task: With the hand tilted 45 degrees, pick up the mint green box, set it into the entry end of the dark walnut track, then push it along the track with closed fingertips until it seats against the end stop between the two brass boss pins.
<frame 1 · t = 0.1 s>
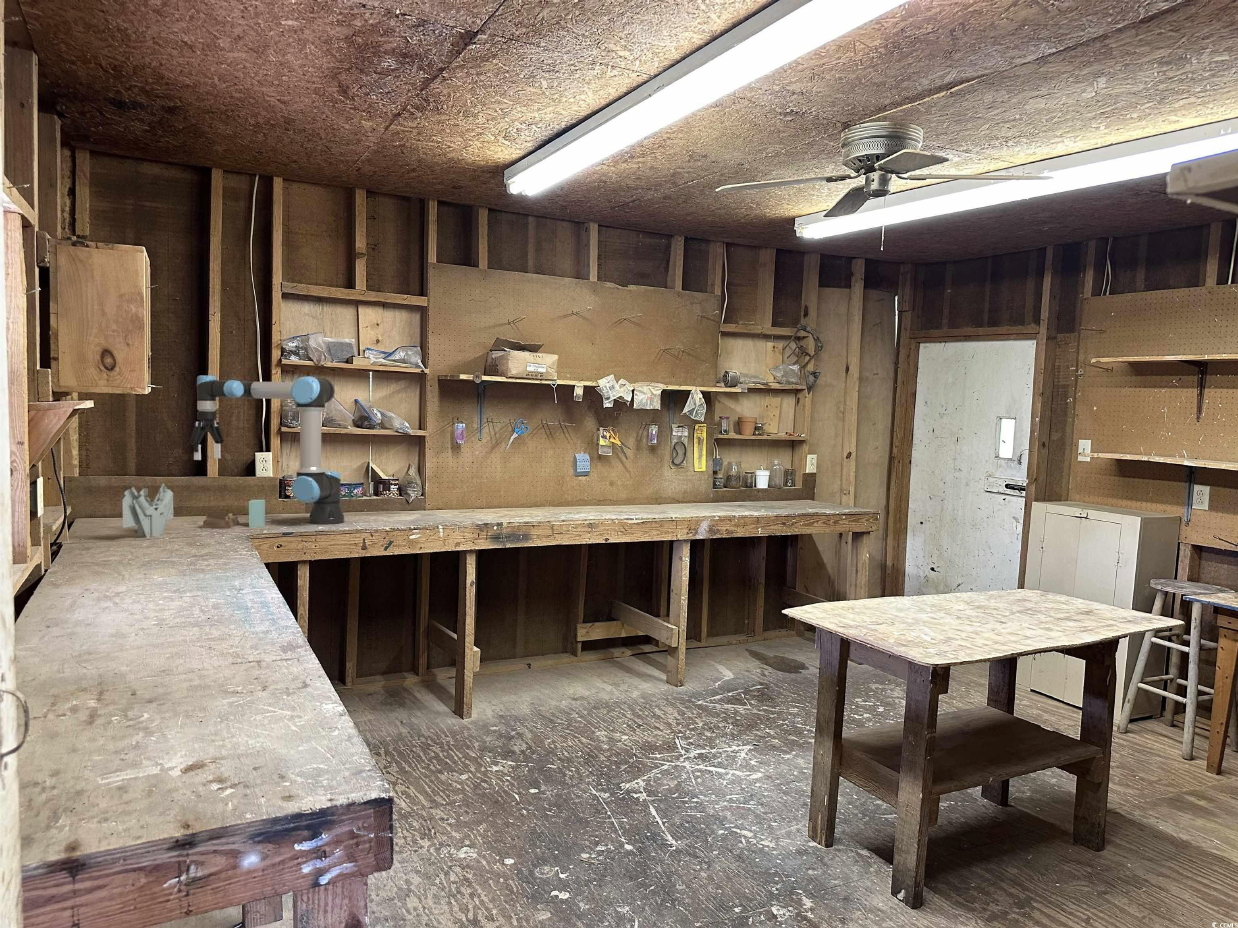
hand: (207, 459, 361), 28 cm above the workbench, tool pointing down, fingers open, 13 cm apart
mint green box: (257, 525, 353), on the workbench
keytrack: (220, 525, 351), on the workbench
bracket: (149, 536, 321), on the workbench
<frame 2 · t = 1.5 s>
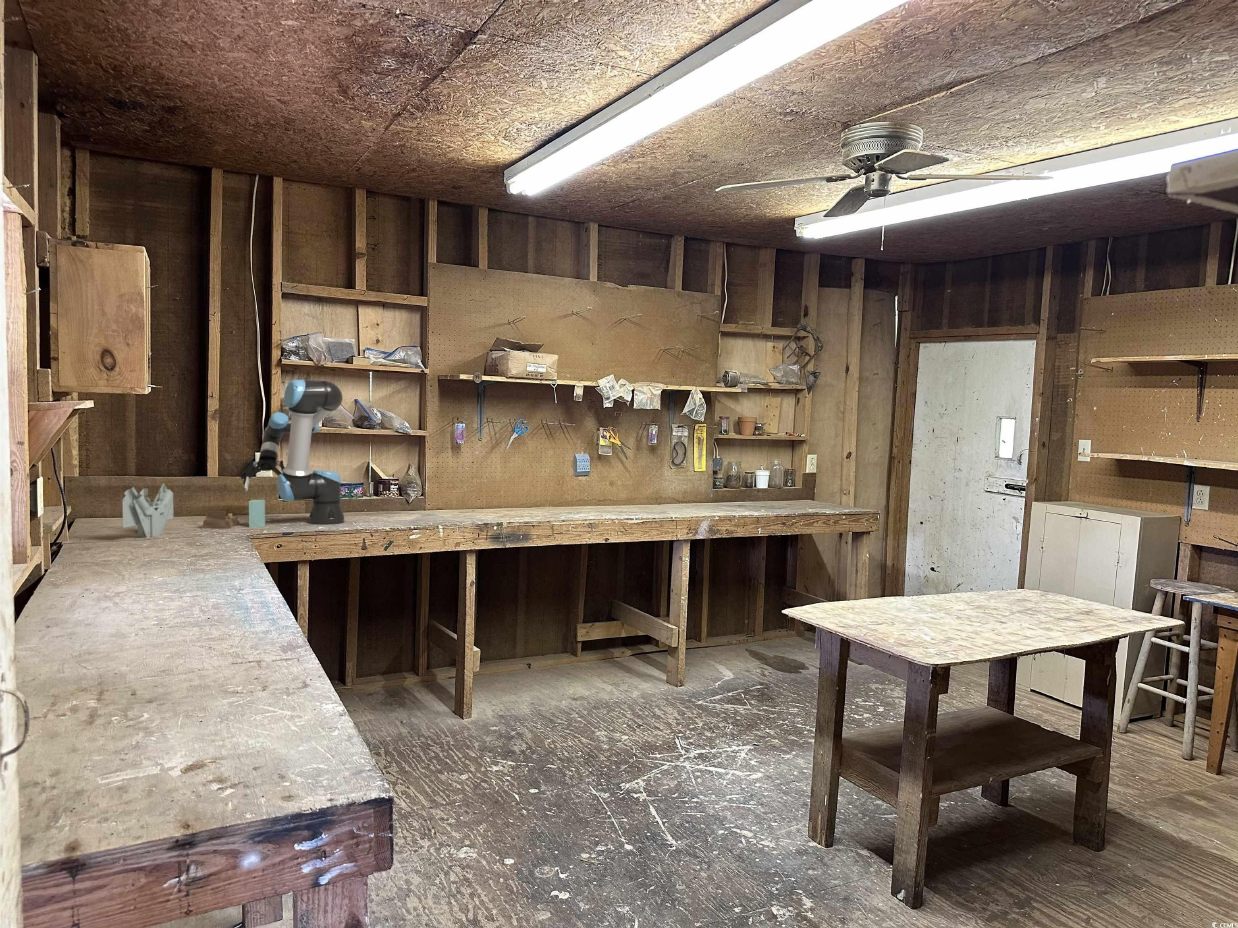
hand: (262, 489, 363), 15 cm above the workbench, tool tilted 45°, fingers open, 13 cm apart
nothing on the workbench moved.
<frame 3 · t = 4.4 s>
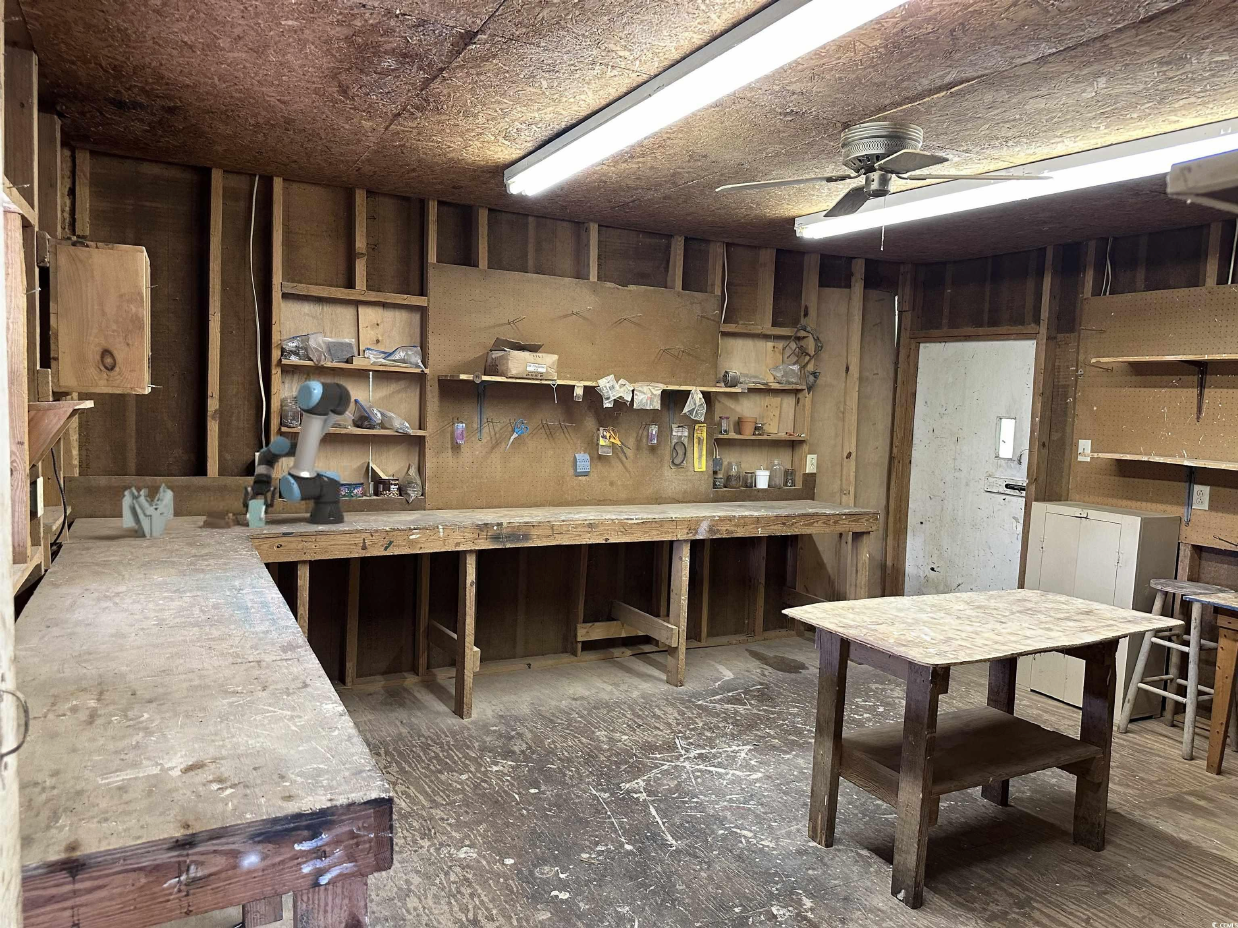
hand: (255, 519, 350), 3 cm above the workbench, tool tilted 45°, fingers closed on mint green box, 5 cm apart
mint green box: (257, 525, 353), on the workbench, touching gripper
everything else where it was.
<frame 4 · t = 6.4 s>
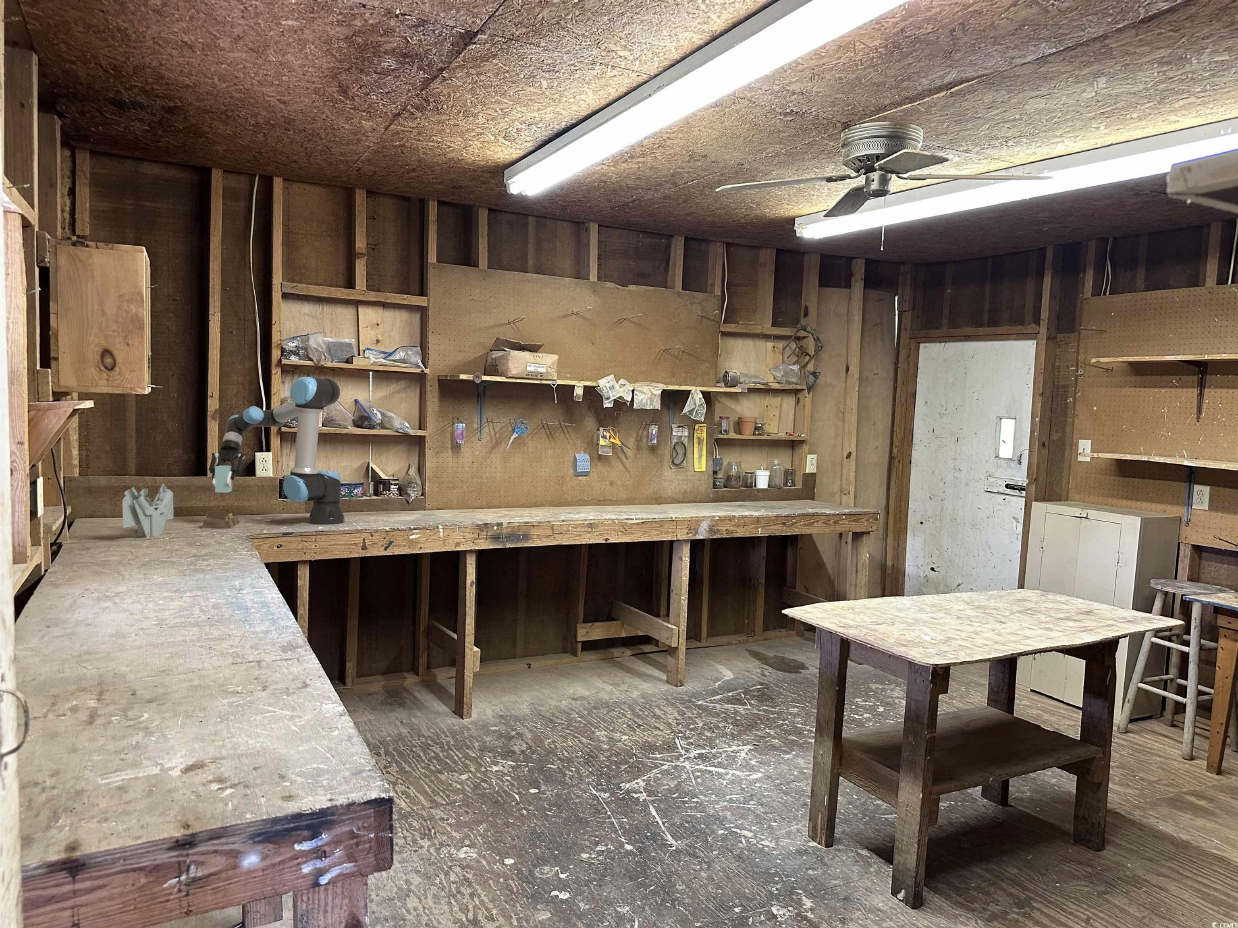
hand: (221, 484, 350), 18 cm above the workbench, tool tilted 45°, fingers closed on mint green box, 5 cm apart
mint green box: (223, 491, 354), point 14 cm above the workbench, touching gripper
everything else where it was.
when the fingers open (6 cm above the workbench, at t = 8.9 s): mint green box drops 1 cm, resting on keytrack.
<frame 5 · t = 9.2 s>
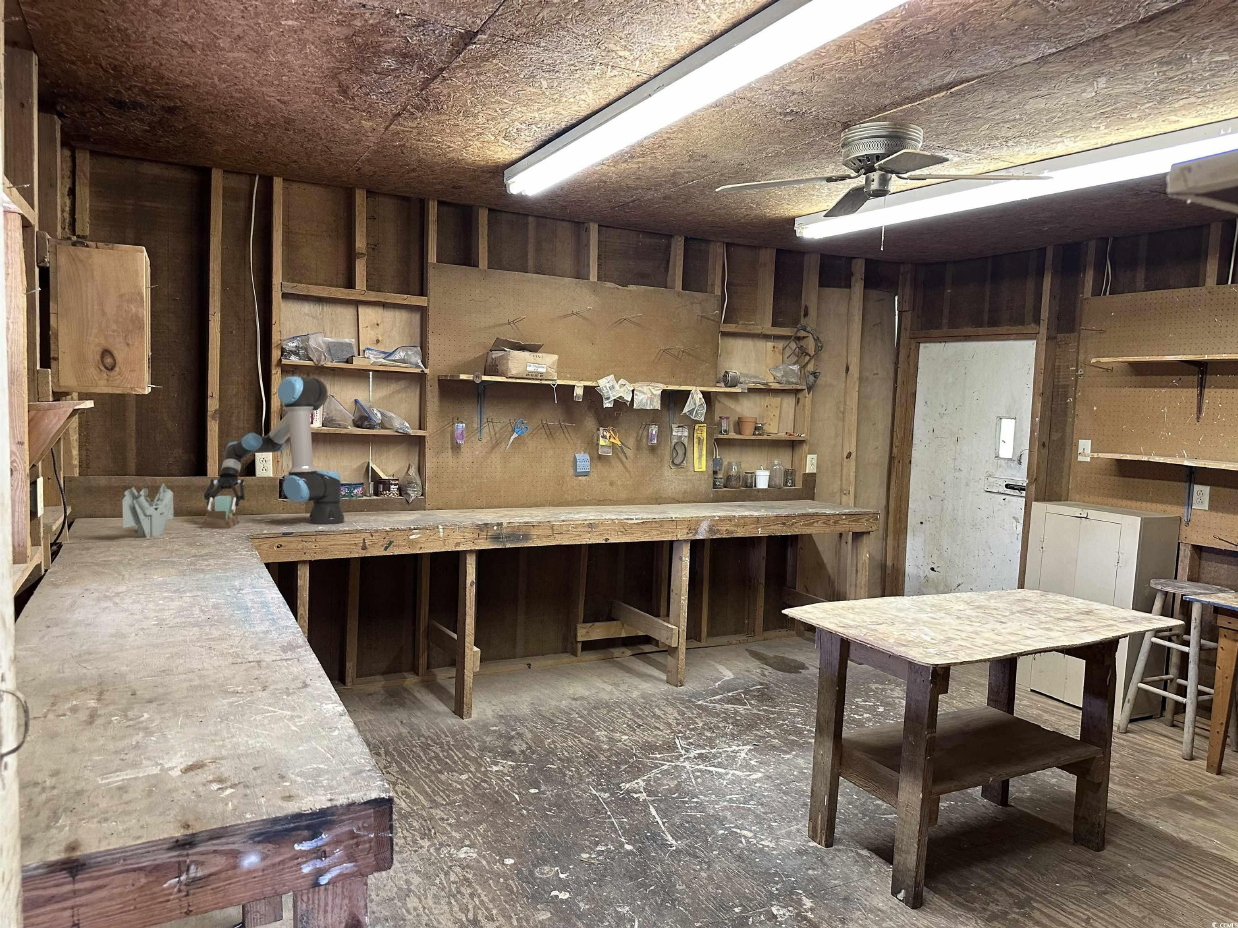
hand: (221, 511, 351), 6 cm above the workbench, tool tilted 45°, fingers open, 9 cm apart
mint green box: (223, 521, 355), point 1 cm above the workbench, touching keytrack
everything else where it was.
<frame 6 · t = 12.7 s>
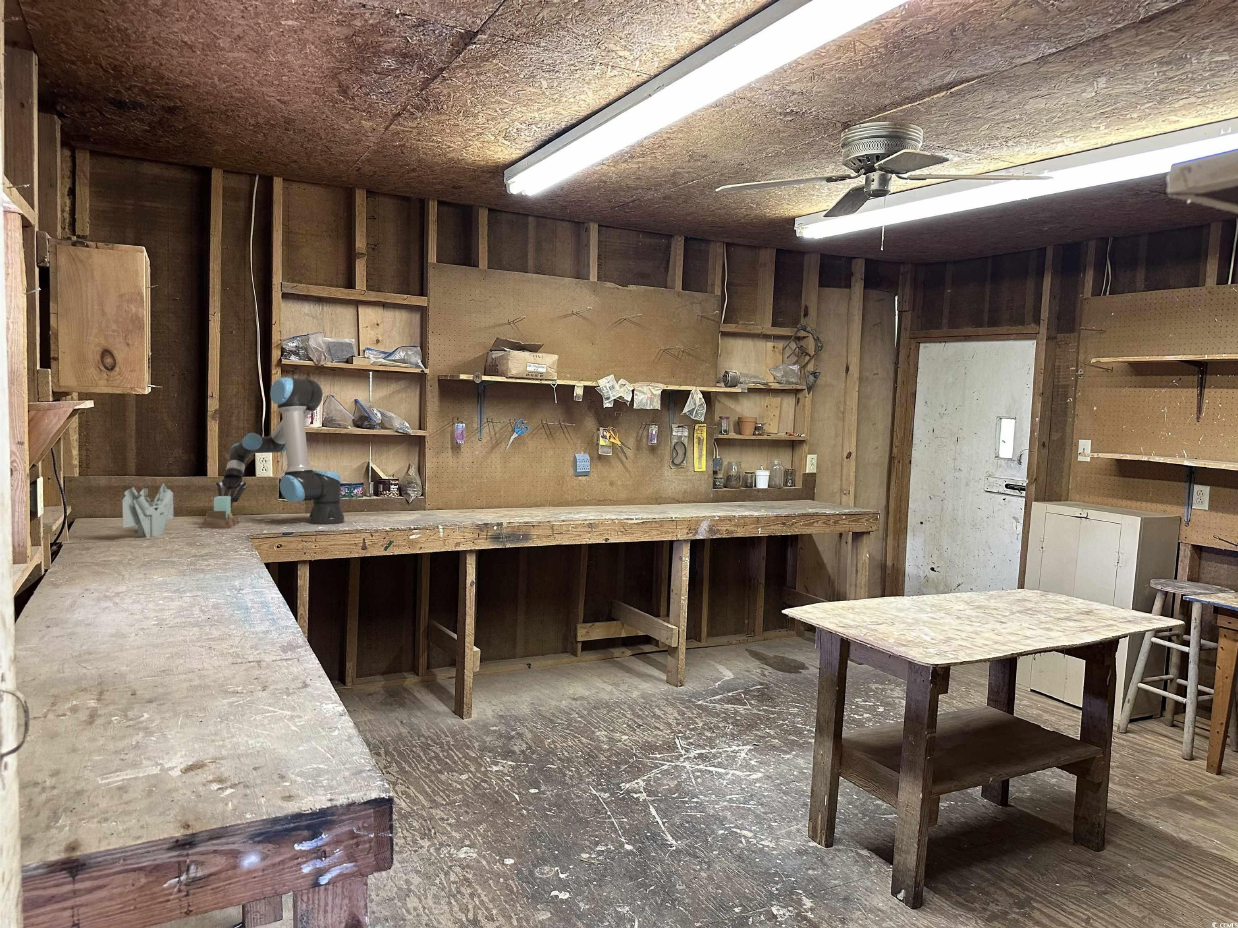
hand: (225, 513, 358), 4 cm above the workbench, tool tilted 45°, fingers closed
mint green box: (222, 522, 353), point 1 cm above the workbench, touching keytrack
everything else where it was.
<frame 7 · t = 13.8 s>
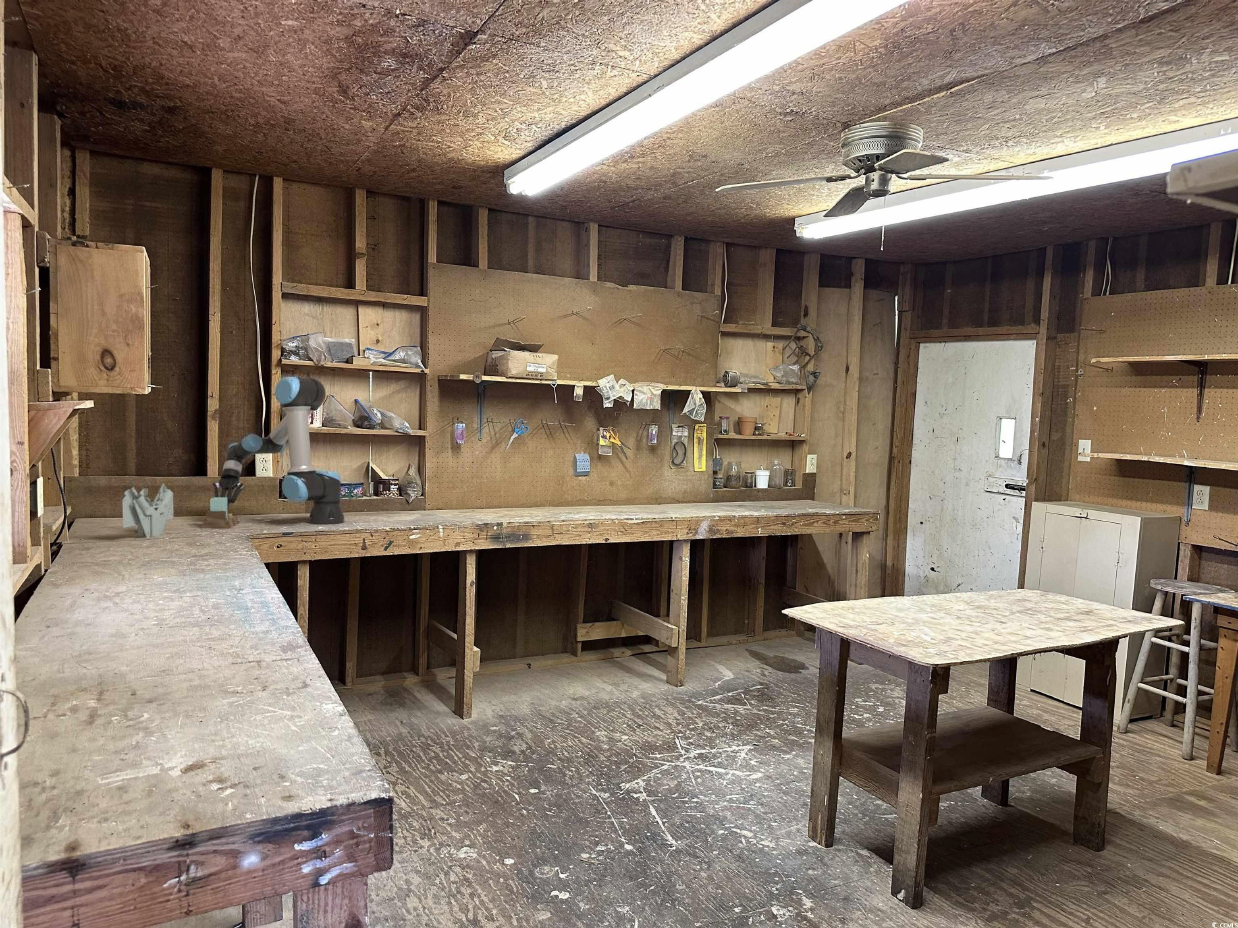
hand: (221, 514, 353), 5 cm above the workbench, tool tilted 45°, fingers closed
mint green box: (219, 523, 348), point 1 cm above the workbench, touching gripper, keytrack
everything else where it was.
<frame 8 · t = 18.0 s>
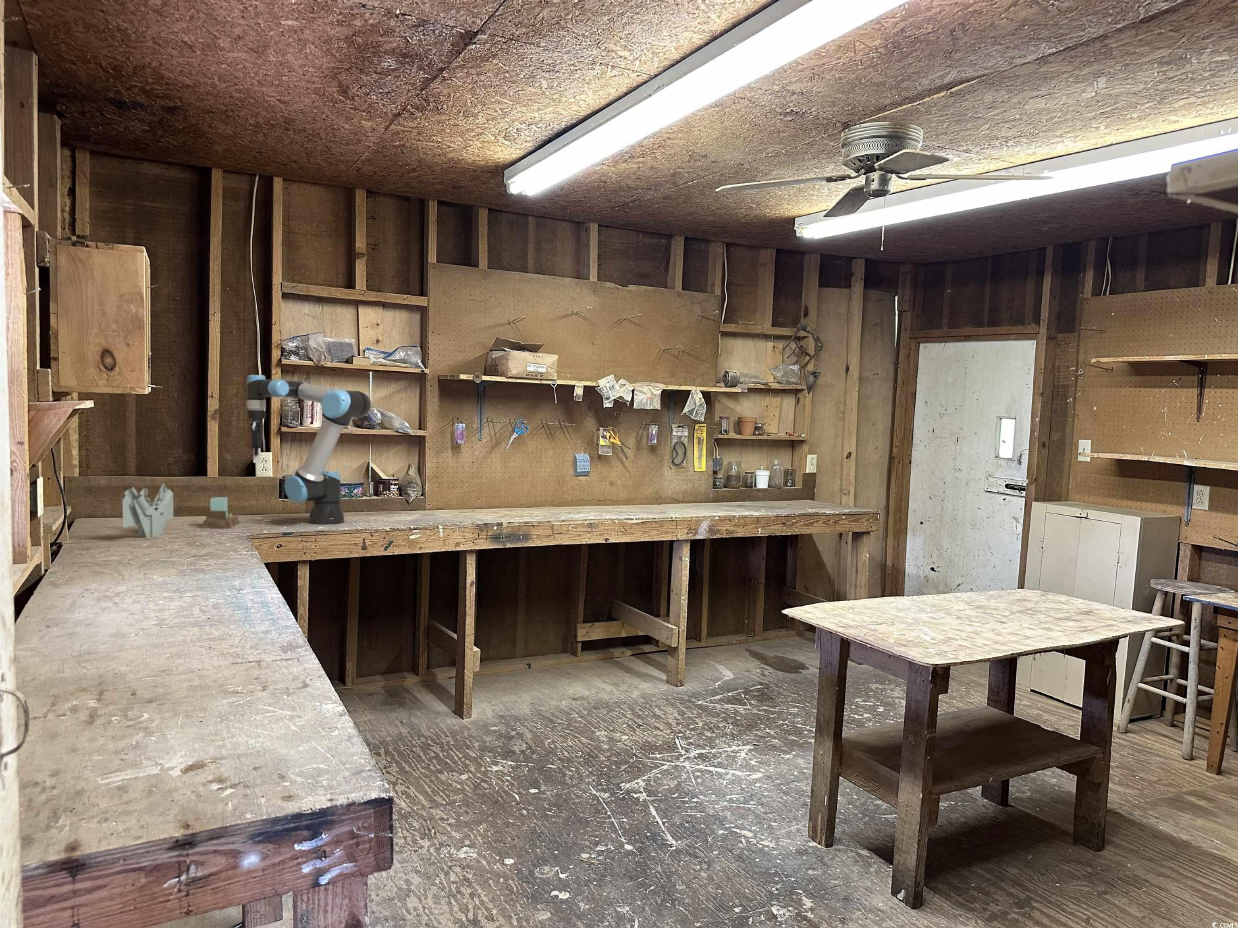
hand: (257, 462, 366), 26 cm above the workbench, tool pointing down, fingers closed
mint green box: (219, 523, 349), point 1 cm above the workbench, touching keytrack
everything else where it was.
at the end: mint green box 0.1 cm from the target spot on the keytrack, point 1.2 cm above the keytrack's base; mint green box tilted 0°; the gripper is holding nothing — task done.
